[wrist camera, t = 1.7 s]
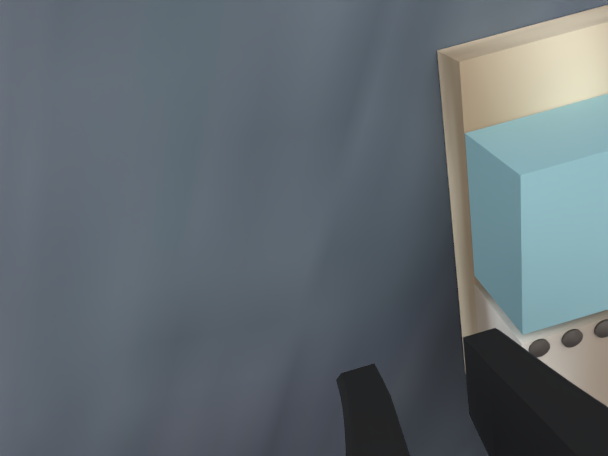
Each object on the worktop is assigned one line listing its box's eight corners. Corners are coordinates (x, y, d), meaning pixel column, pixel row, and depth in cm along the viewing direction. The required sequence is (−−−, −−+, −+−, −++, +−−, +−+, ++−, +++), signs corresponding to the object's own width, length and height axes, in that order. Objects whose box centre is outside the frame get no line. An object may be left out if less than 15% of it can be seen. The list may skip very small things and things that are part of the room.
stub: (474, 275, 18) (522, 334, 15) (464, 133, 15) (520, 175, 13) (618, 233, 18) (689, 285, 16) (631, 86, 16) (719, 119, 13)
